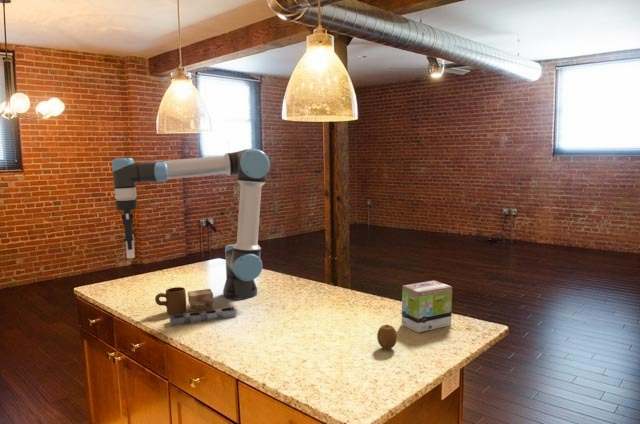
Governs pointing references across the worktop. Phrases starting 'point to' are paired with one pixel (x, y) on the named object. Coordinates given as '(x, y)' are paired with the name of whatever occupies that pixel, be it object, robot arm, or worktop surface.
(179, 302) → the mug
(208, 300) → the tan cardboard box
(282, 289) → the worktop surface
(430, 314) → the tea box
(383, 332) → the fruit
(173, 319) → the rail
